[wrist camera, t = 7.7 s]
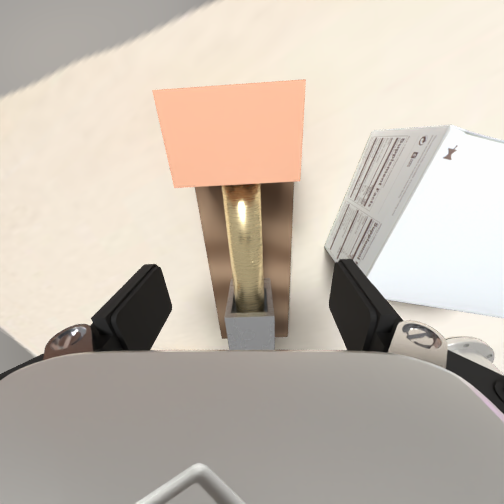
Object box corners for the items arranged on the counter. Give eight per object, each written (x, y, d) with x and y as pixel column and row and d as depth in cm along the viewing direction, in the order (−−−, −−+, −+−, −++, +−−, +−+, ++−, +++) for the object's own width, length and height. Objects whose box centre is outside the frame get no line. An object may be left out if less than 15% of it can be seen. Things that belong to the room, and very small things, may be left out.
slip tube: (265, 317, 26) (266, 340, 23) (238, 318, 26) (236, 341, 23) (259, 132, 17) (260, 130, 14) (217, 134, 17) (209, 133, 14)
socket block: (283, 167, 20) (300, 181, 13) (202, 171, 20) (174, 187, 13) (285, 104, 18) (305, 79, 11) (192, 110, 18) (152, 90, 11)
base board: (286, 328, 33) (287, 336, 31) (223, 330, 33) (222, 338, 32) (293, 106, 19) (296, 103, 18) (186, 113, 19) (181, 111, 18)
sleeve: (270, 332, 31) (274, 376, 25) (237, 333, 31) (233, 377, 25) (270, 277, 26) (274, 316, 20) (230, 279, 26) (224, 317, 21)
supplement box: (321, 248, 26) (353, 297, 18) (369, 129, 20) (452, 120, 12) (442, 270, 27) (524, 326, 19) (522, 165, 21) (693, 181, 13)
